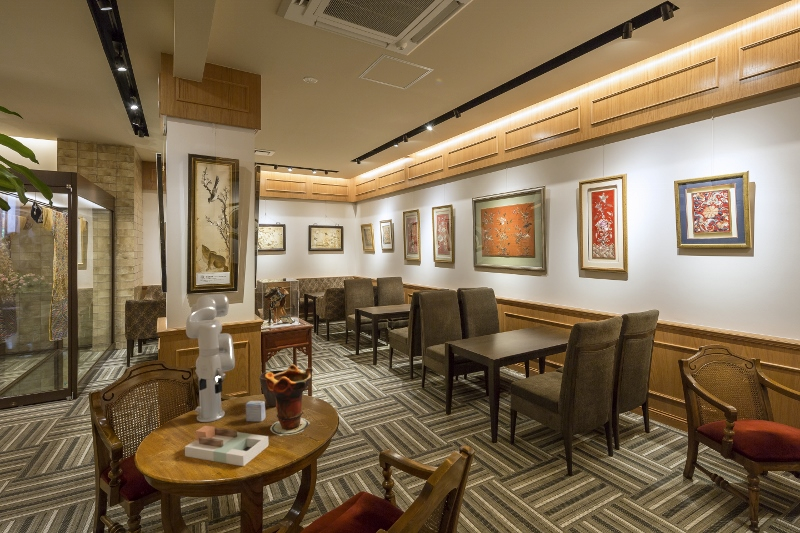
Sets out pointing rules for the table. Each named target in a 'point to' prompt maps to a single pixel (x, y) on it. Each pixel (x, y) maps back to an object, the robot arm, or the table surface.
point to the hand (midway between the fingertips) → (210, 390)
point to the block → (205, 432)
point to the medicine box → (255, 411)
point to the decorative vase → (289, 399)
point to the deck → (229, 449)
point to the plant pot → (267, 393)
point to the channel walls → (217, 441)
